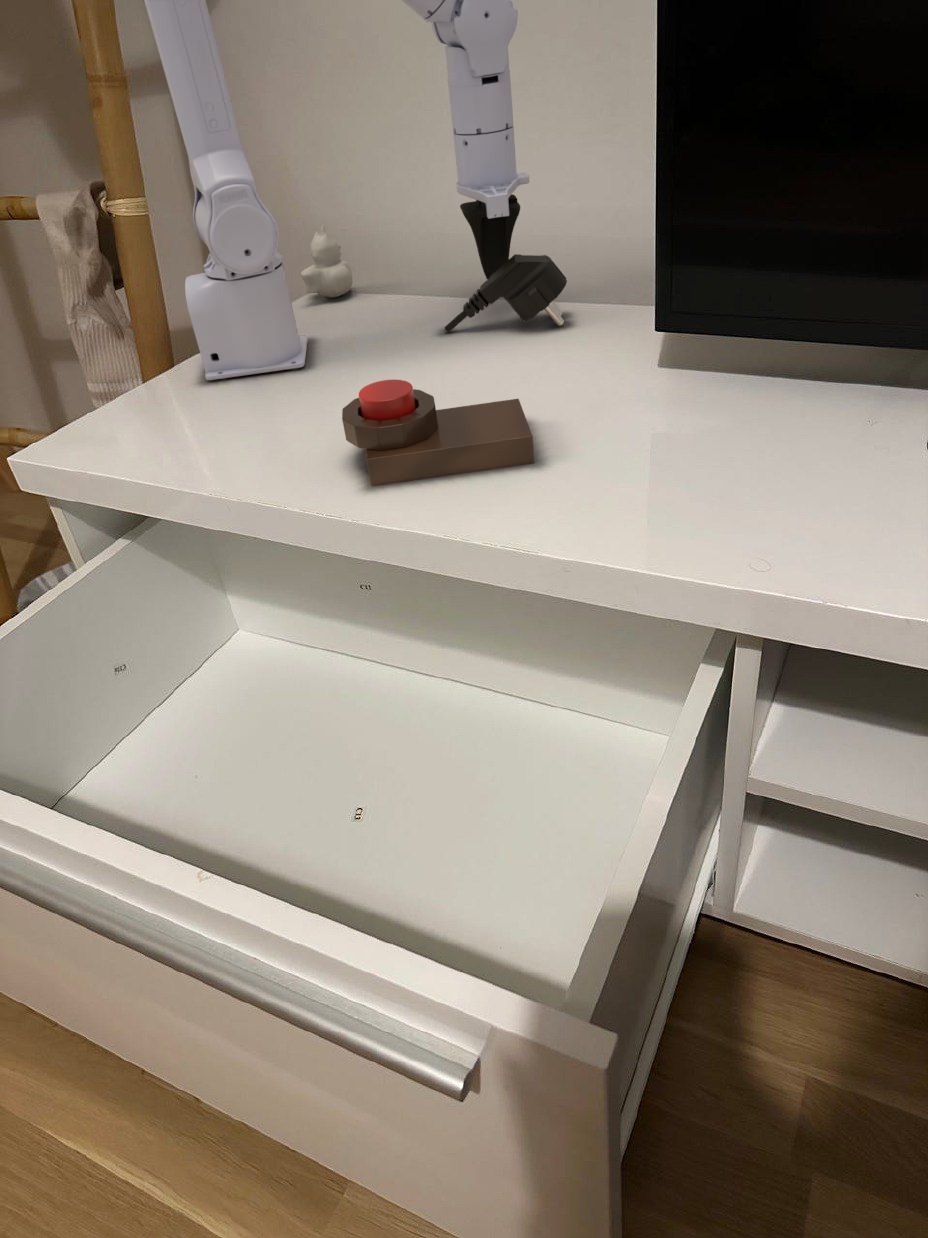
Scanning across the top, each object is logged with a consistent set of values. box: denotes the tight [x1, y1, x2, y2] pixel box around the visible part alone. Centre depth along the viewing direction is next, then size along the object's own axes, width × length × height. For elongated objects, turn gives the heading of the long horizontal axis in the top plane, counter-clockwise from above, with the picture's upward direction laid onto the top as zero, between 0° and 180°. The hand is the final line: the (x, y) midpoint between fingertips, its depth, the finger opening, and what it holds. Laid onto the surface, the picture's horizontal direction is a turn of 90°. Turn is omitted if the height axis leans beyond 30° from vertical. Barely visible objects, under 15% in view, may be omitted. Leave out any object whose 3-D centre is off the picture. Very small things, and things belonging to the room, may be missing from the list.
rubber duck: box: [300, 222, 353, 298], centre depth 103 cm, size 5×7×8 cm
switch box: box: [341, 388, 535, 487], centre depth 69 cm, size 13×8×4 cm, turn 96°
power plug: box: [443, 253, 568, 334], centre depth 91 cm, size 6×8×12 cm
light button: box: [358, 379, 416, 421], centre depth 68 cm, size 4×4×2 cm
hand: (495, 276), depth 95 cm, fingers closed
